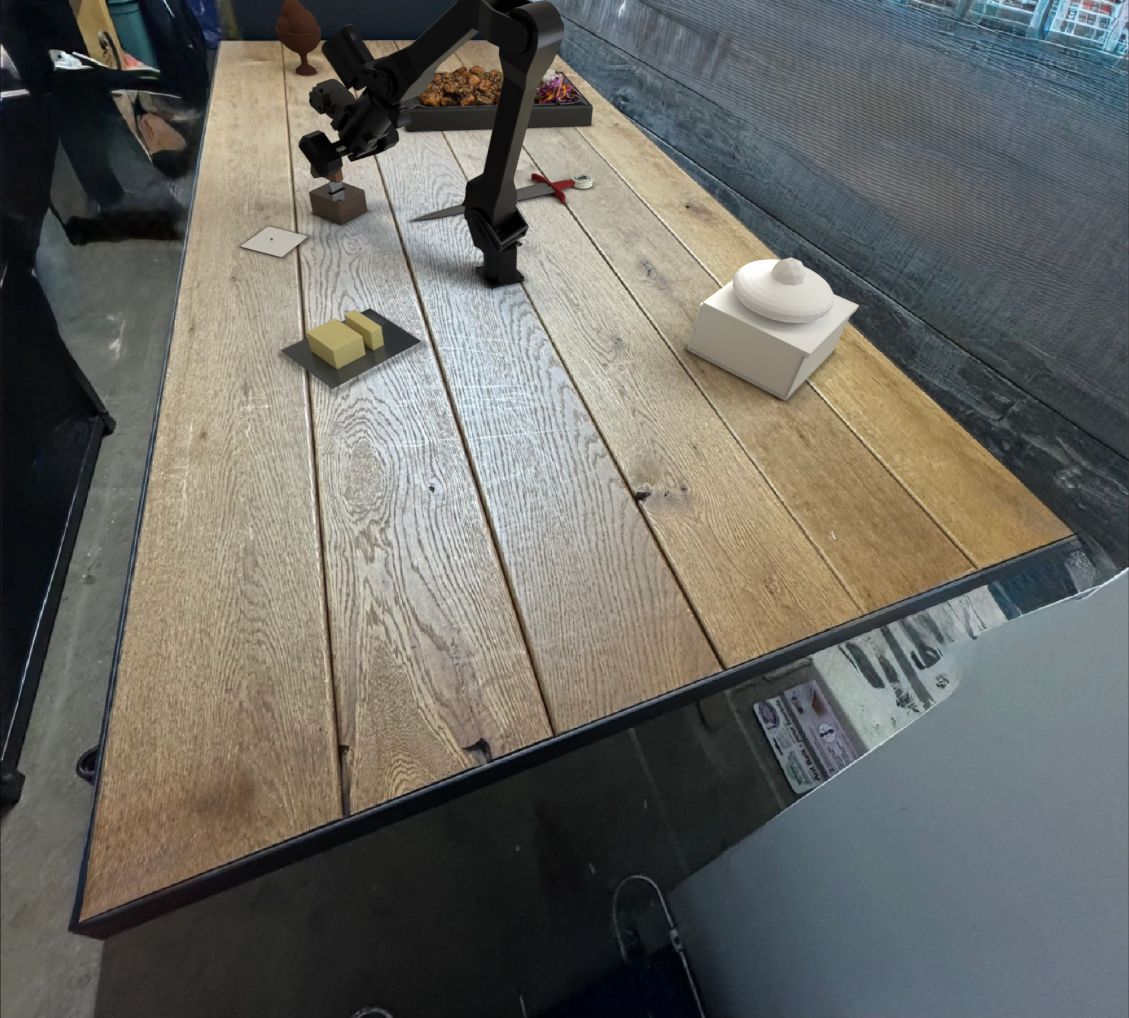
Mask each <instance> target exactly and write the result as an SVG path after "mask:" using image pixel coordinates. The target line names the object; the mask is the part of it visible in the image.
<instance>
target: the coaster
mask: <svg viewBox="0 0 1129 1018" xmlns="http://www.w3.org/2000/svg"><path fill="white" fill-rule="evenodd" d="M308 237H309V236H308V235H305V234H300V233H296V232H292V231H289V230H284V229H280V228H277V227H272V226H267V227H265V228H264V229H262V230H261V231H260V232H258V233H257V234H256V235H254V236H252V238H250V239H249V240H247V241H246V242H244V243H243V244H242V245H240V247H241V248H245V249H249V250H253V251H255V252H260V253H264V254H268V255H272V256H276V257H279V258H283V257H284V256H285V255H287V254H288V253H289V252H290V251H292V250H293V249H294V248H295V247H297V246H298V245H299V244H301V243H302V242H303V241H304V240H306V239H307V238H308Z"/></svg>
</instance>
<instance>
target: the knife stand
mask: <svg viewBox="0 0 1129 1018" xmlns="http://www.w3.org/2000/svg"><path fill="white" fill-rule="evenodd" d="M342 187H343V190H342V191H340V192H338V193H336V194H334V195H331V193H330V188H329V183H328V182H326V183H325V184H323V185H320V186H318V187H316V188H314V189H312V190H309V191H308V196H309V200H310V201H309V202H310V205H311V209H312V214H314V215H317V216H318V217H321V218H324V219H326V220H329V221H330V222H334V223H336V224H338V225H340V226H343V225H344V224H346V223H349V222H350V221H352V220H354V219H356V218H358V217H360V216H362V215H363V214H365V213H367V212H368V205H367V199H366V191H365V189H363V188H360V187H358V186H355V185H352V184H350V183H347V182H345V181H342Z"/></svg>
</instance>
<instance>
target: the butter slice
mask: <svg viewBox="0 0 1129 1018" xmlns="http://www.w3.org/2000/svg"><path fill="white" fill-rule="evenodd" d="M343 317H344V320H345V322H346V326H348V327H349V328H351V329H352V330H354V331H355V332H357V333H358V334H360V335H361V336H362V338H363V343H364V344H365V345H366V346H368V347H369V348H371V349H372V350H375V349H377V348H379V347H381V346H383V345H384V342H383V335H382V329H381V326H379V325H378V324H376V323H375V322H373V321H372V320H370V319H369V318H367V317H366V316H364V315H363V314H361V313H360V311H358V310H356V309H352V310H351V311H348V312H346V313H344V315H343Z"/></svg>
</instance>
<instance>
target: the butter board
mask: <svg viewBox="0 0 1129 1018" xmlns="http://www.w3.org/2000/svg"><path fill="white" fill-rule="evenodd" d="M359 312H360V311H359ZM360 313H361V314H363V315H364V316H366V317H367V318H369V319H370V320H372V321H373V322H375V323H376V324H378V325H379V326H381V329H382V335H383V342H384V345H383V346H381V347H379V348H377V349H375V350H372V349H371V348H369V347H368V346H366V345H365V344H364V349H365V355H364V356H362V357H360V358H358V359H356V360H354V361H352V362H350V363H348V364H347V365H345V366H343V367H341V368H339V369H336V368H334V367H333V366H332V365H330V364H329V363H327V362H326V361H325V360H323V359H322V358H320V357H319V356H318V355H316V354H315V353H314V352H312V351H311V349H310V345H309V341H308V337H306V338H304V339H302V340H299V341H297V342H295V343H293V344H291V345H289V346H287V347H284V348H282V349H280V352H281V353H283V354H284V355H286V356H287V357H288V358H290V359H291V360H292V361H294V362H295V363H297V364H298V365H299V366H301V368H303V369H304V370H306V371H307V372H308V373H310V374H311V375H313V376H314V377H315V378H317V379H318V380H320V381H321V382H322V383H323V384H325V385H326V386H328V387H329V388H330V389H332V390H335V389H336V388H338V387H339V386H341V385H344V384H345V383H347V382H349V381H351V380H353V379H354V378H357V377H358V376H360V375H362V374H364V373H366V372H368V371H370V370H372V369H373V368H375V367H377V366H379V365H380V364H383V363H384V362H387V361H389V360H390V359H392V358H394V357H396V356H397V355H400V354H401V353H403V352H405V351H407V350H409V349H411V348H412V347H415V346H416V345H418V344H420V343H422V340H420V339H419V338H417V336H414V335H413V334H411V333H409V332H408V331H406V330H405V329H403V328H402V327H400V326H399V325H398V324H396V323H394V322H392V321H391V320H389V319H388V318H386V317H384V316H383V315H382V314H380V313H378V311H375V310H374V309H372V308H370V307H369V308H367V309H365V310H362V311H361V312H360ZM340 322H342V323H343V324H345V325H346V322H345V319H344V320H340Z"/></svg>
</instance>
